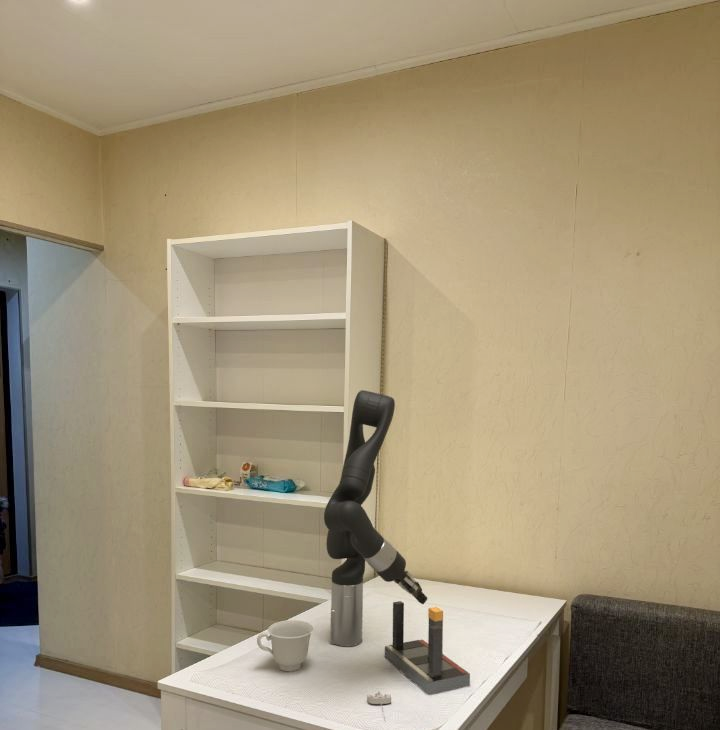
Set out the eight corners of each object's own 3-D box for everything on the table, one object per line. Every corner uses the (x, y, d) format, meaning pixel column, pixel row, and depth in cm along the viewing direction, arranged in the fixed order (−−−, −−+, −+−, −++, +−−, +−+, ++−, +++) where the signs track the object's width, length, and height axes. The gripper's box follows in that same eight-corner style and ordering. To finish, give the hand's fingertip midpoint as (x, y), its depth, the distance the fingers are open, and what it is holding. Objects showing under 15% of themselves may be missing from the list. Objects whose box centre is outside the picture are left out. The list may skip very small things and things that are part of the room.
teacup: (252, 661, 169) (252, 624, 169) (305, 654, 174) (306, 617, 174) (261, 681, 157) (262, 641, 158) (318, 673, 163) (318, 634, 163)
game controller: (385, 695, 152) (385, 684, 152) (407, 719, 142) (407, 708, 142) (363, 699, 150) (364, 688, 150) (384, 724, 139) (385, 712, 139)
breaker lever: (434, 659, 164) (435, 612, 165) (427, 654, 167) (428, 608, 168) (442, 657, 165) (443, 610, 166) (435, 652, 168) (436, 606, 169)
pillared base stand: (428, 695, 152) (429, 632, 152) (384, 657, 173) (385, 601, 173) (469, 685, 157) (470, 624, 158) (422, 650, 178) (422, 596, 178)
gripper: (406, 554, 155) (446, 598, 160) (382, 540, 167) (420, 581, 172) (386, 578, 153) (428, 621, 158) (363, 562, 165) (402, 603, 170)
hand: (424, 600), depth 165 cm, fingers closed
